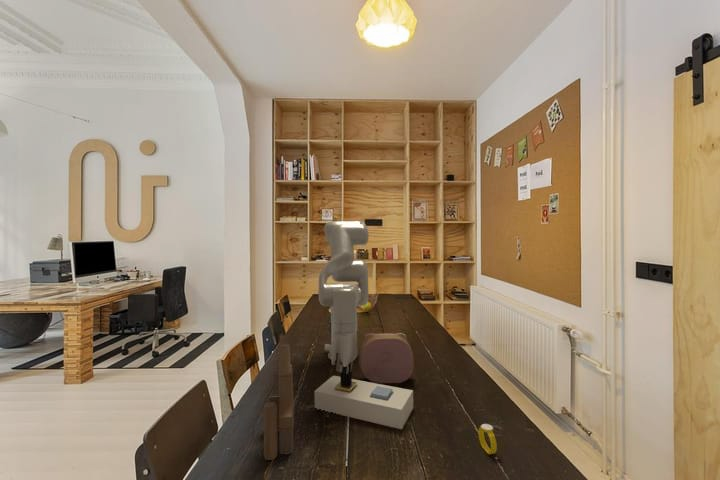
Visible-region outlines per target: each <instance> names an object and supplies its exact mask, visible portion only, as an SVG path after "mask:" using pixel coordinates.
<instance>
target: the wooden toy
mask: <svg viewBox="0 0 720 480" xmlns="http://www.w3.org/2000/svg"><path fill="white" fill-rule="evenodd" d="M277 375H278V395H275V396H274V395H273V396H269V397H268V399H269V400H268V402H266V403H265V404H264V405H263V408H262V409H263V413H262V414H263V454H264V455H263V457H264V459H265V460H266V461H267V460H272V461H274V460H276V459H277V458H278V455H279V454H285V453H292V454H293V451H294V450H293V449H294V446H293V445H294V440H293V439H294V427H295V419H294V418H295V417H294V416H295V412H294V411H295V410H294V408H295V407H294V405H295V404H294V402H295V401H294V384H293V381H294V380H293V379H294V378H293V365H292V364H291V347H290V344H281V345H279V349H278V371H277ZM277 430H279V431H277ZM285 455H286V454H285ZM276 457H277V458H276ZM275 458H276V459H275ZM273 459H274V460H273Z"/></svg>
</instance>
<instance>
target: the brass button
mask: <svg viewBox="0 0 720 480" xmlns="http://www.w3.org/2000/svg"><path fill="white" fill-rule="evenodd" d="M356 387H357V382H353V381H352V384H351V385H350V386H346V385H341V382H339V383H338V384H337V385H336V390H338V391H343V392H348V393H351V392H352V391H353V390H354V389H355V388H356Z"/></svg>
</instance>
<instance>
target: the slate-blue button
mask: <svg viewBox="0 0 720 480" xmlns="http://www.w3.org/2000/svg"><path fill="white" fill-rule="evenodd" d="M391 395H392V389H390V388H385V387H380V386H377V387H376V388H375V389H374V390H373V391H372V393H371V397H372V398H377V399H382V400H386V401H388V400H389V398H390V397H391Z"/></svg>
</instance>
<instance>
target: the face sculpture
mask: <svg viewBox="0 0 720 480" xmlns="http://www.w3.org/2000/svg"><path fill="white" fill-rule="evenodd" d="M363 338H364V339H363V342H362V344H361V346H360V348H359V349H358V350H359V354H358V360H359V361H358V363H359V367H360V369H361V372H362V374H363V376H364V377H365V378H366V379H367V380H368V381H370V382H371V383H376V384H402V383H405V382H406V381H407V380H408V379H409V378H410V376H411V374H413V372H414V352H413V350H412V347H411V345H410V343H409V342H408V339H407V338H408V337H407V334H405V333H402V332H400V333H399V332H398V333H386V332H385V333H367V334H365V335H364V337H363Z"/></svg>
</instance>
